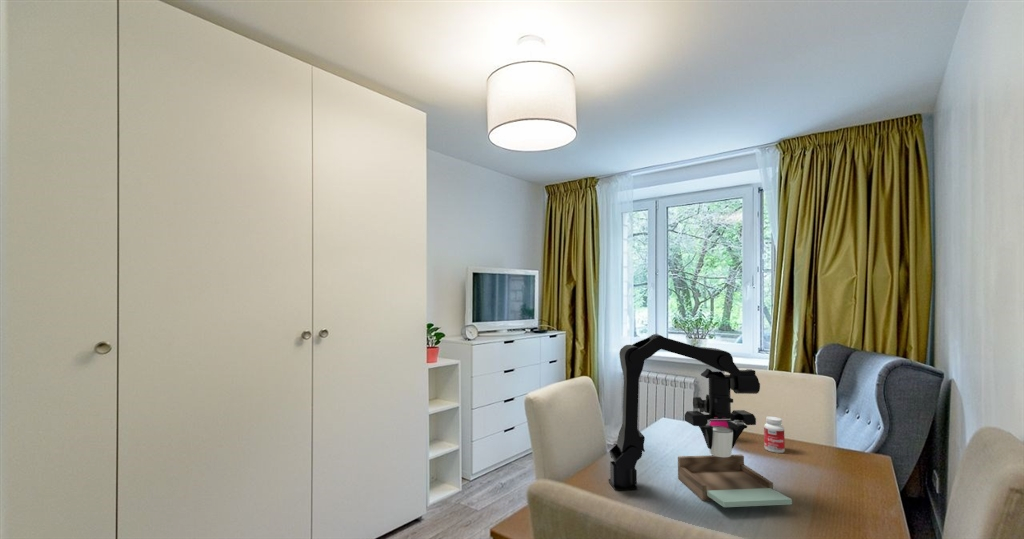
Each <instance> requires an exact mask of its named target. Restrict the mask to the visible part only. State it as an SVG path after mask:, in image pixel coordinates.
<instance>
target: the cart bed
mask: <svg viewBox="0 0 1024 539" xmlns="http://www.w3.org/2000/svg"><path fill="white" fill-rule="evenodd" d="M677 479H678V480H679V481H680V483H682V484H683V485H684V486H685V487H687V489H689V491H691V492H692V493H693V494H694V495H695V496H697V498H698V499H700V500H701V501H702V502H711V501H714V500H713V499H711V498H710V497H708V496H707V491H710V490H735V489H759V488H771V489H773V490H774V482H773V481H770V479H767V477H765V476H763V475H761V474H760V473H758V472H757V471H755V470H753V468H751V467H749V466H747V465H745V456H744V455H743V454H741V453H740V454H731V456H730V457H718V456H714V455H712V454H709V455H686V456H685V455H682V456H679V455H678V456H677ZM714 502H715V501H714Z"/></svg>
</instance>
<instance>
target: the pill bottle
mask: <svg viewBox="0 0 1024 539" xmlns="http://www.w3.org/2000/svg"><path fill="white" fill-rule="evenodd" d="M765 419H766V420H765V421H766V423H765V424H764V425H763V434H764V435H763V438H764V439H763V442H764V444H763V445H764V449H765V451H768V452H771V453H776V454H782V453H783V454H784V452H785V450H786V448H785V447H786V445H785V443H786V442H785V427H784V426H783V425H782V424H783V423H782V421H783V420H782V418H780V417H776V416H766V417H765Z"/></svg>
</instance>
